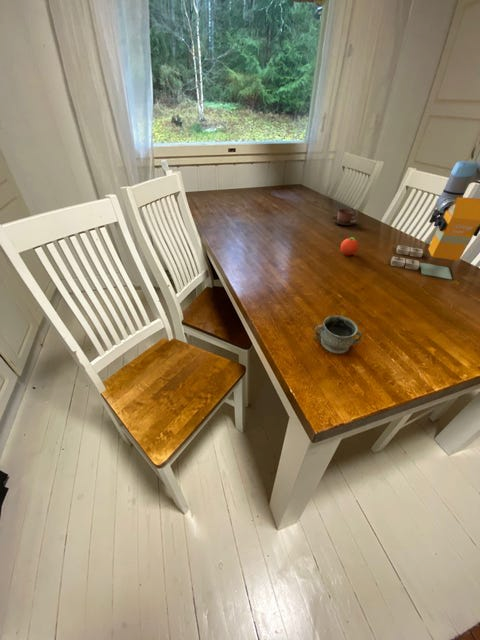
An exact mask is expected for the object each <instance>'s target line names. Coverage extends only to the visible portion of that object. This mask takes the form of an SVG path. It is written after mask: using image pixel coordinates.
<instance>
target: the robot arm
mask: <svg viewBox="0 0 480 640" xmlns="http://www.w3.org/2000/svg"><path fill="white" fill-rule="evenodd" d="M478 181H480V159H479V160H477V161H476V160H475V161H469V160H458V161H457V162H456V163H455V164H454V166H453V168H452V170H451V172H450V175H449V176H448V179H447V181H446V184H445V185H444V188H443V191H442V192H441V194H440V195H439V196H438V198H437V199H436V202H435V207H436V208H435V209H434V210H433V212H432V213H431V217H430V219H429V220H428V222H429V224H433V223H434V224H433V226H434V227H439V229H440V231H443V229H444V227H445V225H446V221H445V219H444V218H443V217H444V215H445V213H446V211H447V209H448V208H449V207H450V206H451V204H452V203H453V202H454V201H455V200H456V198H457V197H464V196H465V194H466V191H467V189H468V188H469V185H472V184H474V183H476V182H478ZM479 233H480V224H479V226H478V227H477V229H476V231H475V233H474V234H473V237H477V236H478V235H479Z"/></svg>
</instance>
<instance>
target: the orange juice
mask: <svg viewBox="0 0 480 640" xmlns="http://www.w3.org/2000/svg"><path fill="white" fill-rule="evenodd" d="M443 218H444V219H445V221H446V225H445V227H444V229H443V231H440V229H439V226H437V229H436V231H435V232H434V235H433V238H432V240H431V241H430V244H429V245H428V249H427V250H428V251H429V254H430V256H431V258H436V259H445V260H450V261H457V262H458V261H460V260H461V258H462V255H463V254H464V252H465V251H466V249H467V248H468V245H469V244H470V242H471V240H472V239H473V237H474V235H473V234H474V233H475V231H476V229H477V227H478V226H479V224H480V198H475V197H464V196H463V197H457V198H456V200H455V201H454V202H453V203H452V204H451V206H450V207H449V208H448V209H447V211H446V213H445V215H444V217H443Z"/></svg>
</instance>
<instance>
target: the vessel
mask: <svg viewBox="0 0 480 640" xmlns="http://www.w3.org/2000/svg"><path fill="white" fill-rule="evenodd" d="M313 330H314V335H315V339H317V340H320V343H321V345H322V347H323V348H324V349H325V350H327V351H328V352H330V353H333V354H345V353H347V352H348V351H349V349H350V347H351V346H356V345H357V343H359V342H361V340H362V339H363V333H362V332H361V330H359V329H358V325H357V324H356V322H354V321H353V320H351V319H350V318H349V317H346V316H342V315H336V314H335V315H329V316H328V317H326V318H325V319H324V320H323V322H322V324H319V325H317V326H316V327H315V328H314V329H313ZM318 330H320V332H319V333H318ZM356 336H359V337H358V338H356Z"/></svg>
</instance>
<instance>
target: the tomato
mask: <svg viewBox="0 0 480 640" xmlns="http://www.w3.org/2000/svg"><path fill="white" fill-rule="evenodd" d="M358 250H359V243H358V241H357V240H356V238H355V237H352V236H351V237H348V238H345V239H344V240H343V241H342V242H341V244H340V251H341V253H343V255H346V256H351V255H354V254H355V253H356V252H358Z"/></svg>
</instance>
